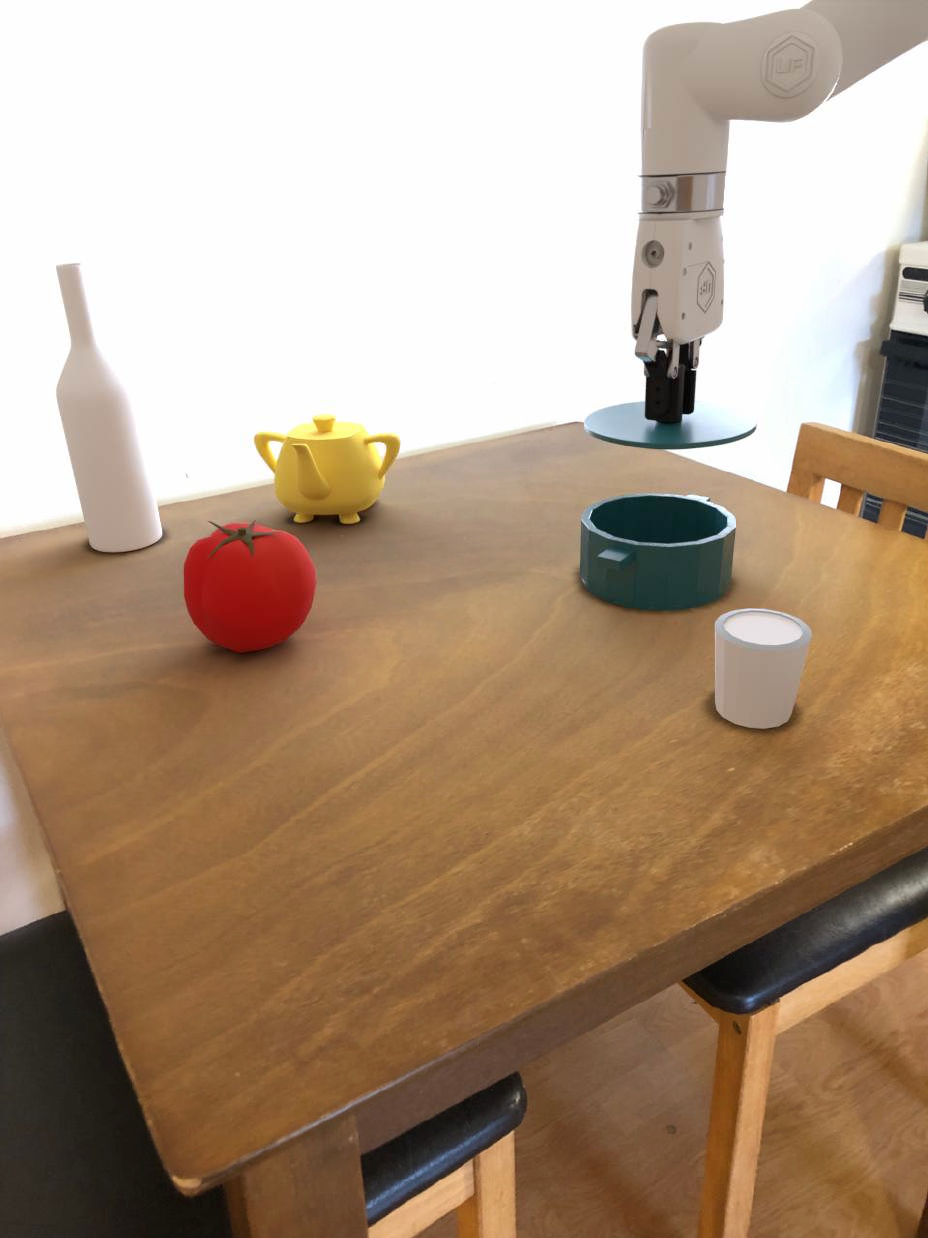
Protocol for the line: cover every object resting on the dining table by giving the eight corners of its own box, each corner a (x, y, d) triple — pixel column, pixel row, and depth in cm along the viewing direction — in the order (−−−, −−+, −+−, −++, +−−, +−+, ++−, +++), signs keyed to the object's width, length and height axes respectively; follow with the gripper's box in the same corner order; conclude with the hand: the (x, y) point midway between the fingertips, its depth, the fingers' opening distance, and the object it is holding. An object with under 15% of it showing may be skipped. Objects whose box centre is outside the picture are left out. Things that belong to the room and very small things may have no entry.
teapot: (251, 512, 115) (237, 417, 110) (351, 486, 123) (342, 396, 118) (306, 543, 105) (294, 440, 100) (410, 513, 113) (404, 416, 108)
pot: (761, 560, 97) (768, 501, 94) (679, 636, 82) (684, 568, 79) (634, 534, 105) (637, 478, 102) (539, 598, 90) (539, 535, 87)
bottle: (145, 553, 104) (87, 268, 91) (77, 552, 105) (10, 269, 92) (173, 527, 111) (124, 259, 98) (109, 526, 112) (52, 261, 99)
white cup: (797, 740, 67) (810, 655, 64) (701, 724, 70) (709, 641, 67) (802, 693, 73) (814, 613, 70) (712, 680, 75) (720, 602, 72)
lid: (780, 421, 88) (787, 355, 85) (715, 465, 77) (720, 391, 74) (631, 404, 97) (633, 344, 94) (552, 442, 85) (552, 375, 83)
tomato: (195, 619, 88) (175, 508, 84) (316, 604, 91) (304, 495, 86) (191, 681, 78) (168, 558, 73) (328, 662, 80) (315, 541, 75)
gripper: (681, 204, 70) (669, 443, 78) (758, 191, 82) (741, 401, 90) (593, 205, 74) (590, 432, 82) (679, 193, 86) (669, 394, 94)
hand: (669, 414), depth 86 cm, fingers closed on lid, 2 cm apart
